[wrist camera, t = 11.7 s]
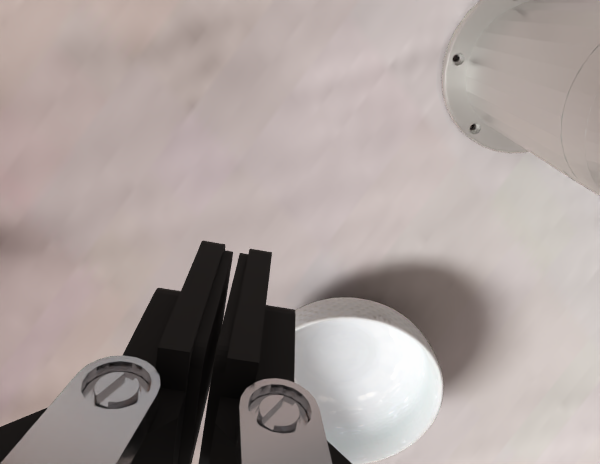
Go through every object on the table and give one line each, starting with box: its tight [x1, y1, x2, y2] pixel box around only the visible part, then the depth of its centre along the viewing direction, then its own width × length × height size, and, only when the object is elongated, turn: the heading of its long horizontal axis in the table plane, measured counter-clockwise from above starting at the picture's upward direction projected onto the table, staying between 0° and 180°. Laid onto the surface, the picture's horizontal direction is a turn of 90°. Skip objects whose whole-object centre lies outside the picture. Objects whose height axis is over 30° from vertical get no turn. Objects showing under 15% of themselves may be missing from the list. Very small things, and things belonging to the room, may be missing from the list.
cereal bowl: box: [294, 297, 444, 464], centre depth 45 cm, size 17×17×7 cm
